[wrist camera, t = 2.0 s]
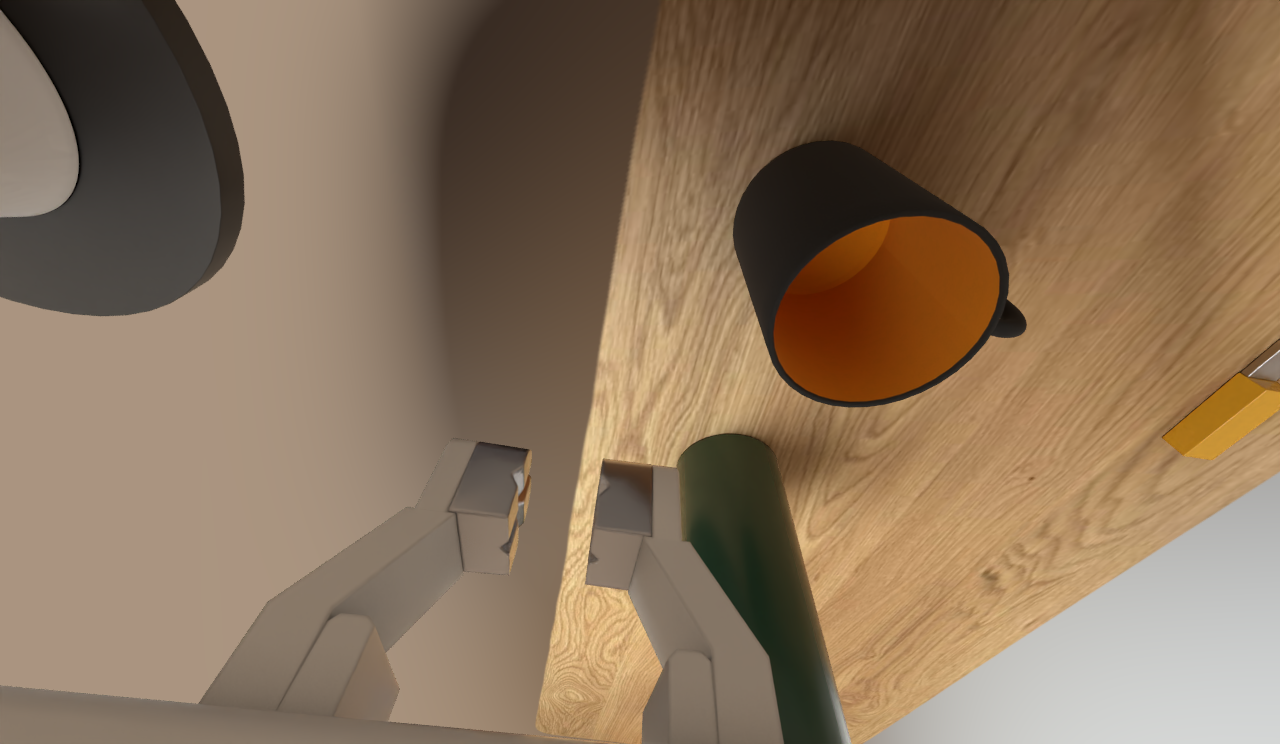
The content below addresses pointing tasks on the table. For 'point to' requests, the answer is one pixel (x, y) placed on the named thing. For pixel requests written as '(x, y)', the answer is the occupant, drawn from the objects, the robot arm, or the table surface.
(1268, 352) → the knife
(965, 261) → the mug
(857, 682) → the table surface
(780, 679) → the canister
